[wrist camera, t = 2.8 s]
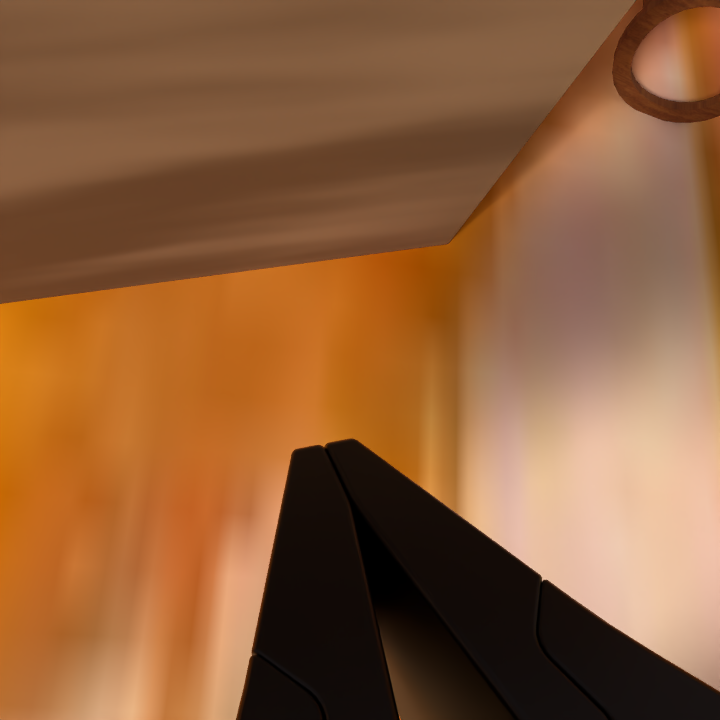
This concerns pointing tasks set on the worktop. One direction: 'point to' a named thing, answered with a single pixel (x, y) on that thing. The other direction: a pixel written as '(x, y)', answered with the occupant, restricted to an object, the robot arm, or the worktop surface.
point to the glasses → (656, 8)
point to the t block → (262, 128)
